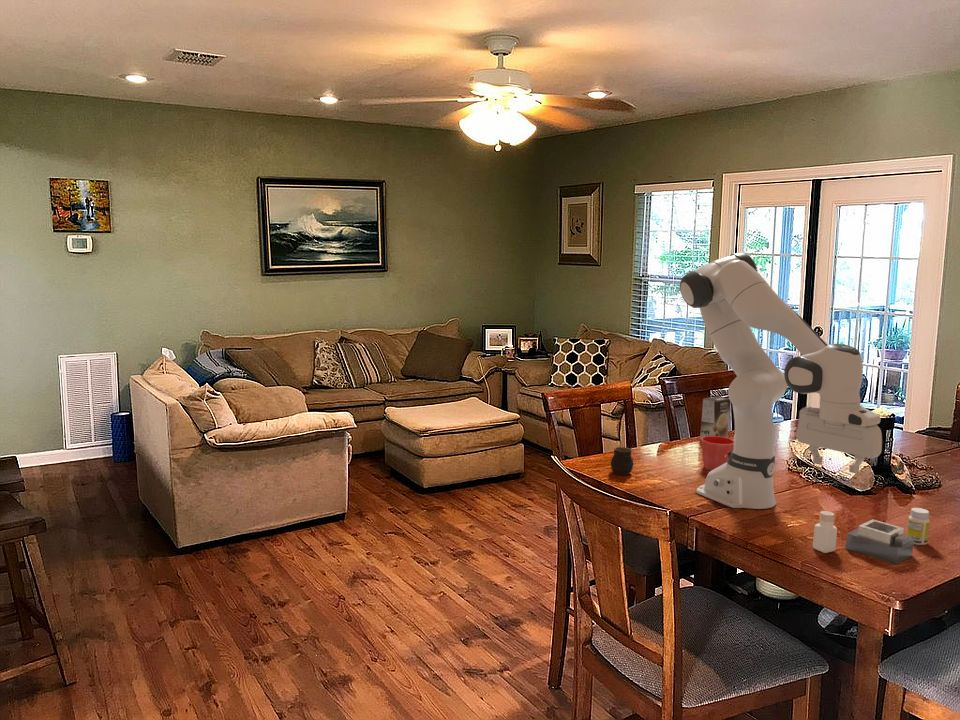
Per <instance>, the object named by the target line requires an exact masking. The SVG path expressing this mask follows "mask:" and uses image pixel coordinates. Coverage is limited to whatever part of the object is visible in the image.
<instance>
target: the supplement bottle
mask: <svg viewBox="0 0 960 720" xmlns="http://www.w3.org/2000/svg"><path fill="white" fill-rule="evenodd" d="M929 515H930V511H929V510H928V509H924V508H921V507H912V508H911V509H910V515H908V518H907V527H906V528H907V531H906V535H908V536H910V539H912V540H914V543H913V545H917V546H924V545H925V546H926V545H927V544H928V543H929V532H930V524H931V523H930V522H931V521H930V518H929Z"/></svg>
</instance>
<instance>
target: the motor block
mask: <svg viewBox="0 0 960 720" xmlns="http://www.w3.org/2000/svg"><path fill="white" fill-rule="evenodd" d="M904 531H905V528H904V527H901V526H898V525H894V524H891V523H888V522H885V521H884V522H883V521H880V520H877V519H870V520H868V521H866V522H863V523H861V524H860V525H858V528H855V529H854V530H850V531H849V532H847V534H846V540H845V541H846V544H845V549H846V550H848V551H851V552H855V553H857V554H861V555H864V556H867V557H871V558H873V559H876V560H880V561H883V562H886V563H889V564H892V565H894V566H895V565H896V566H897V565H898V564H900V563H902V562H904V561H905V560H907V559H909V558H910V557H912V556H913V551H914V544H913V543H914V540H912V539H910V536H908V535H907V534H904Z"/></svg>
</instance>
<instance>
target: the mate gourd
mask: <svg viewBox="0 0 960 720" xmlns="http://www.w3.org/2000/svg"><path fill="white" fill-rule="evenodd" d="M634 447H635V445H632V446H631V447H630V448H629V447H625V446H617V447H614V448H613V455H612V458H611V460H610V467H611V471H612V472H613V474H616V475H618V476H626V475H629V474H630V473H631V472H632V470H633V468H634V462H633V461H634V460H633V458H632V451H633V450H632V449H633V448H634Z"/></svg>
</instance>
